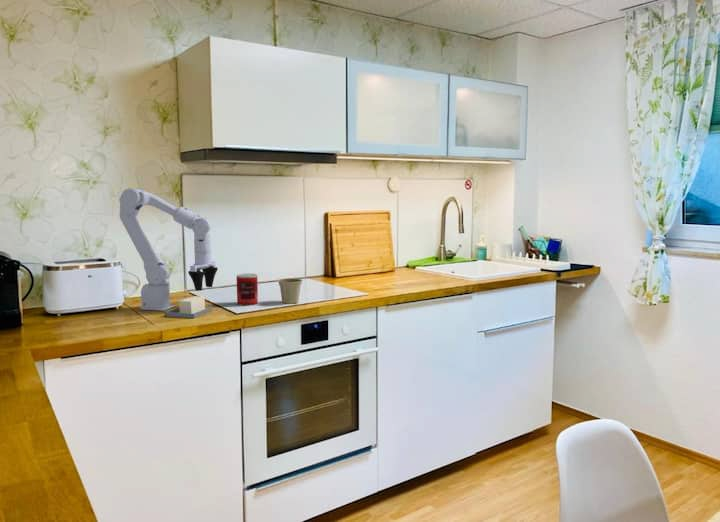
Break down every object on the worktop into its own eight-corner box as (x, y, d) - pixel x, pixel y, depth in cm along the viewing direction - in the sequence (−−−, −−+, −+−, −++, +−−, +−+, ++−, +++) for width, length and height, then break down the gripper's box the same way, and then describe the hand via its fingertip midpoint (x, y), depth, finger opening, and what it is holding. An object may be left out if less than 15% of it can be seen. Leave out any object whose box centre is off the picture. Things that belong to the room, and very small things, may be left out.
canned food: (248, 300, 217) (248, 272, 215) (262, 303, 211) (261, 274, 210) (232, 303, 211) (232, 275, 209) (246, 306, 206) (245, 277, 204)
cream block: (193, 308, 200) (179, 313, 192) (193, 296, 200) (179, 300, 191) (204, 309, 199) (191, 314, 191) (204, 296, 199) (191, 301, 190)
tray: (164, 316, 189) (164, 312, 188) (184, 309, 201) (184, 305, 200) (193, 318, 186) (193, 313, 186) (212, 310, 198) (211, 306, 198)
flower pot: (299, 299, 219) (299, 277, 218) (305, 303, 211) (305, 281, 210) (275, 301, 216) (275, 279, 215) (281, 305, 207) (280, 282, 206)
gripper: (202, 253, 193) (203, 292, 195) (222, 249, 207) (223, 285, 209) (184, 253, 195) (185, 291, 197) (205, 249, 209) (206, 285, 210)
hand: (204, 288), depth 203 cm, fingers open, 7 cm apart
